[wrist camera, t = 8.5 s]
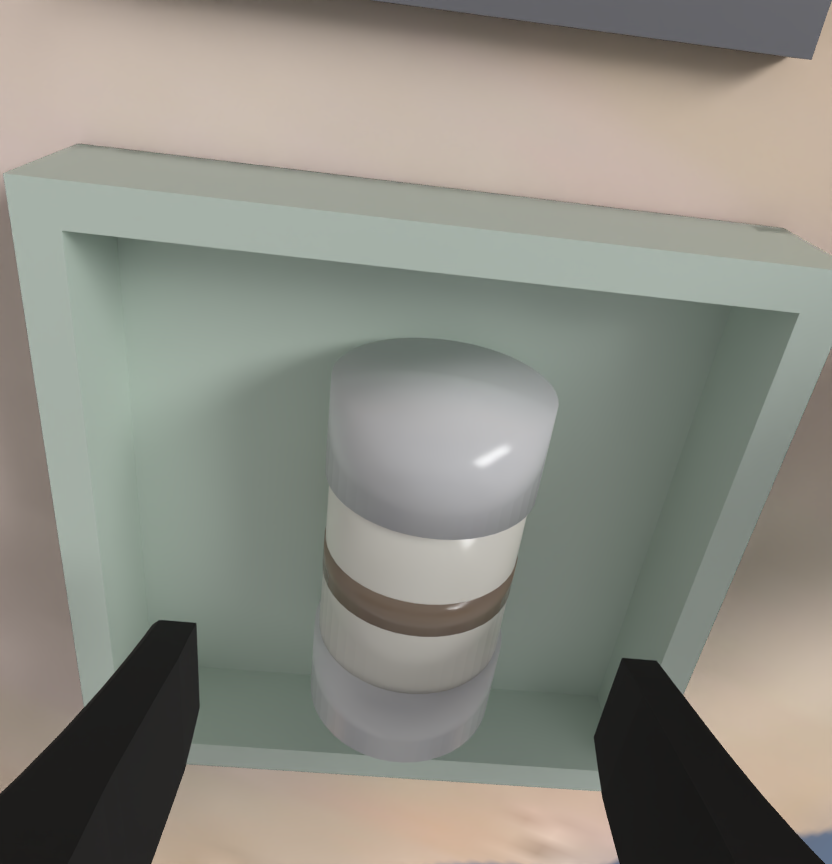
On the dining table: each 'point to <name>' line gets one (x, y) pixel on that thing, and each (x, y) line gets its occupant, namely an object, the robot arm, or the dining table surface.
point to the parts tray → (309, 410)
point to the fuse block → (670, 20)
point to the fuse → (422, 538)
